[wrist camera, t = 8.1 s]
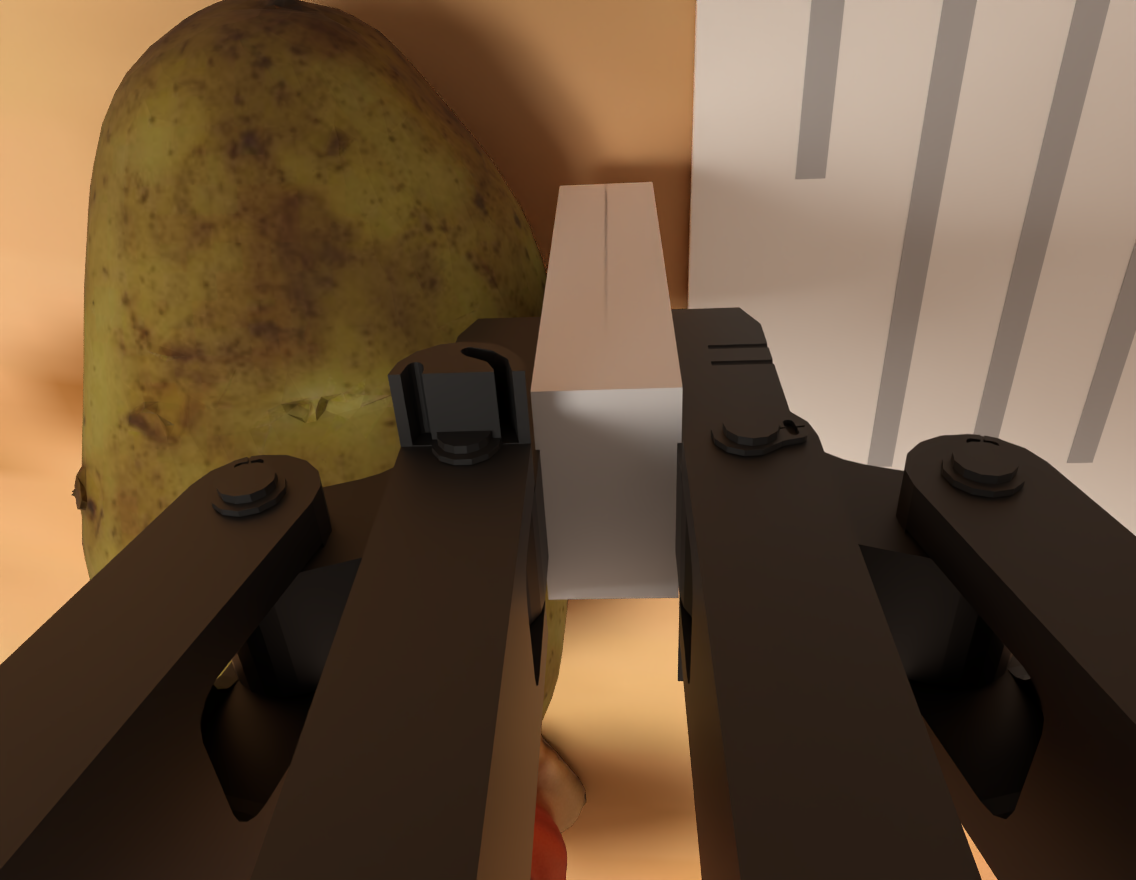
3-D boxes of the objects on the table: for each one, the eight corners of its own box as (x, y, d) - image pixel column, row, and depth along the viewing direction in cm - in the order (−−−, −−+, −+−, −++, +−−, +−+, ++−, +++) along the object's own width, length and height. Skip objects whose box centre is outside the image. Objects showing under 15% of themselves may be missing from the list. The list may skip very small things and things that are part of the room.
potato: (729, 86, 14) (764, 310, 7) (542, 633, 21) (476, 990, 15) (207, -67, 14) (-248, 23, 7) (200, 543, 21) (-26, 869, 14)
